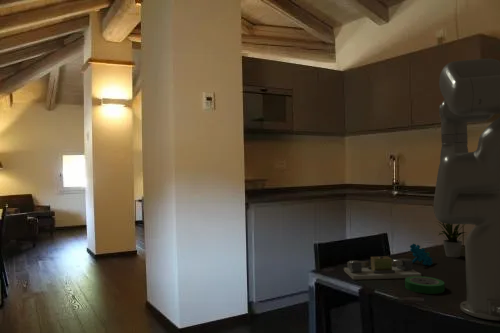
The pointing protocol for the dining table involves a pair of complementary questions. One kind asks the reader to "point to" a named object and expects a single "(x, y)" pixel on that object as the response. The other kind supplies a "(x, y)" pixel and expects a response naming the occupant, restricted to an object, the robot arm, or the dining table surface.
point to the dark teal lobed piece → (421, 255)
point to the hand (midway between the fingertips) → (455, 193)
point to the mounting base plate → (381, 273)
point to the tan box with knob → (381, 263)
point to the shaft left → (357, 265)
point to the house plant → (452, 240)
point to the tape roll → (424, 285)
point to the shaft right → (403, 264)
